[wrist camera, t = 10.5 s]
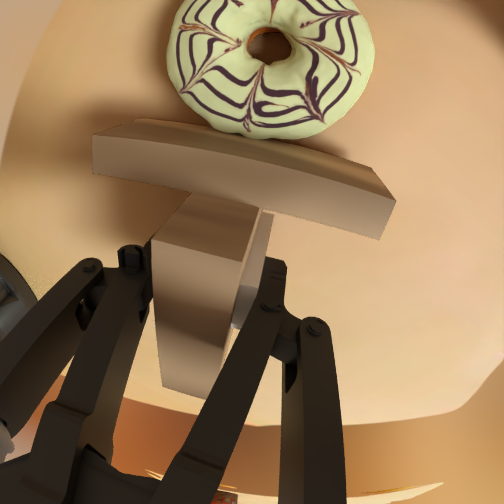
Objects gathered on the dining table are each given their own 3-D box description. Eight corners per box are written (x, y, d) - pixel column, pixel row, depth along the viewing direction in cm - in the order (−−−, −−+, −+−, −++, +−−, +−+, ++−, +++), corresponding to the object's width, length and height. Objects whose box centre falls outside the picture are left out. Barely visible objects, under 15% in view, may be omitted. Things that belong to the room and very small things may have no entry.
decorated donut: (332, 155, 17) (339, 173, 13) (170, 111, 16) (142, 120, 13) (380, 12, 11) (399, -4, 8) (208, -29, 10) (187, -50, 7)
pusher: (310, 314, 22) (306, 420, 14) (140, 269, 22) (83, 354, 14) (370, 167, 15) (430, 253, 7) (141, 118, 15) (32, 161, 8)
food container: (239, 493, 100) (236, 511, 91) (241, 496, 109) (238, 512, 100) (208, 487, 102) (203, 505, 94) (212, 491, 111) (208, 507, 102)
